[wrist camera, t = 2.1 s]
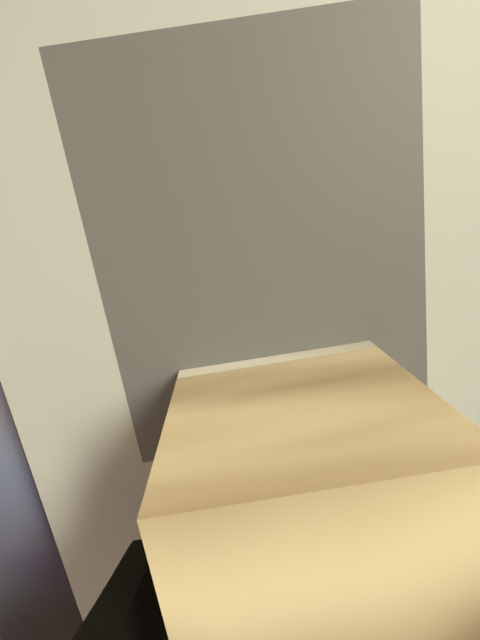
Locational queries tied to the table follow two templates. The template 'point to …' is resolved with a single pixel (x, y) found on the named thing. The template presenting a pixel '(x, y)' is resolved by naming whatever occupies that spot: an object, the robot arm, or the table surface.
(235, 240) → the board
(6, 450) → the table surface
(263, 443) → the block
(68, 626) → the table surface
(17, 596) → the table surface
